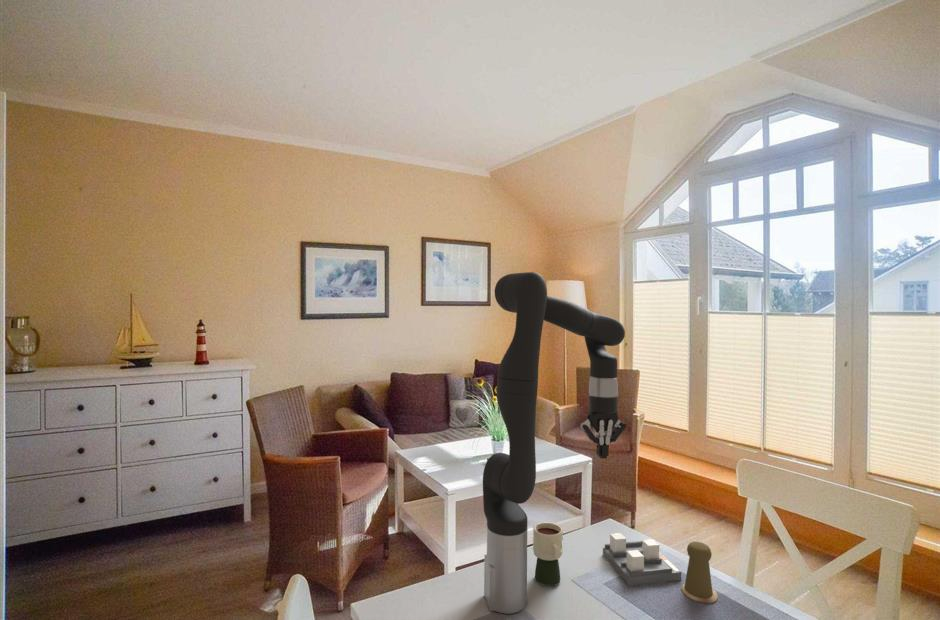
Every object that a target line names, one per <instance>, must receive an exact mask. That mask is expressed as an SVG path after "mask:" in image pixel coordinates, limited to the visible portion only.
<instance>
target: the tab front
mask: <svg viewBox="0 0 940 620" xmlns="http://www.w3.org/2000/svg"><path fill="white" fill-rule="evenodd" d="M626 567H627V568H628V569H629V570H630V571H639V570H644V556H643V555H642V554H641V553H640V552H639V551H638V550H631V551H627V562H626Z"/></svg>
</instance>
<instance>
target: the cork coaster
mask: <svg viewBox="0 0 940 620" xmlns="http://www.w3.org/2000/svg"><path fill="white" fill-rule="evenodd" d="M712 591H713V595H712V597H710V598H698V597H695V596H693V595H691V594H689V593H688V592H687V591H686V590H685V582H684V583H683V584H682V586H681V592H682V593H683V595H685V596H686V597H687V598H688V599H690V600H693V601H694V602H697V603H702V604H712V603H713V604H714V603H716V602H717V601H718V592H717V591H716V590H715V589H714V588H713V587H712Z"/></svg>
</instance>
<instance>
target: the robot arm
mask: <svg viewBox="0 0 940 620" xmlns="http://www.w3.org/2000/svg"><path fill="white" fill-rule="evenodd" d="M494 298H495V301H496V303H497V304H498V306H499V307H500V308H502V309H503V310H504V311H507V312H510V313H514V314H515V313H516V317H515V318H516V319H515V329H514V333H513V336H512V339H511V342H510V344H509V346H508V348H507V349H506V352H505V353H504V354H503V357H502V359H501V362H500V364H499V366H498V370H497V380H496V401H497V405H498V409H499V412H500V414H501V417H502V419H503V422H504V425H505V427H506V432H507V436H508V440H509V441H508V443H509V454H507V453H503V452H497V453H493V454H492V455H490V457H489V458H488V459H487V461H486V462H485V465H484V468H483V473H482V498H483V499H482V500H483V501H482V502H483V503H482V504H483V513H484V516H485V518H486V554H484V557H483V558H484V559H483V560H484V562H483V563H484V564H483V565H484V571H483V572H484V573H483V575H484V576H483V579H484V580H483V584H484V585H483V595H484V596H483V597H484V599H485V601H486V606H487V608H488V610H489V611H490V612H498V613H500V614H517V613H518V612H521V611H523V610H524V609H525V607H526V606H527V599H528V597H527V596H528V590H527V587H528V516H527V514H526V512H525V511H524V509H523V508H522V507H521V506H520V504H524V503H526V502H527V501H528V500H529V499H530V498H531V497H532V494H533V492H534V489H535V485H536V480H537V477H536V476H537V466H536V465H537V461H536V458H537V457H536V415H537V414H536V413H537V398H538V390H539V389H538V386H539V365H540V354H541V353H540V352H541V342H542V334H543V326H544V321H545V322H547V323H550V324H552V325H555V326H557V327H558V328H561V329H563V330H566V331H568V332H571V333H572V334H575V335H577V336H580V337H584V341H585V346H586V349H587V355H588V357H589V361H590V364H589V370H590V371H589V382H588V415H587V416H586V420H585V421H583V422H580V423H579V427H580V428H581V429H582V431H583V432H584V434H585V435H586V437H588V439H589V441H591V442H593V443H594V444H596V455H597V457H598V458H599V459H603V460H605V459H607V458H608V457H609V453H610V451H609V450H610V447H609V445H610V444H612V443H615V442H617V440H618V439H619V437H620V436H621V434H622V433H623V431H625V429H626V427H627V423H625V422H623V421H621V420H620V419H619V414H618V408H619V402H618V401H619V383H618V359H617V357H616V356H615V355H613V354H611V353H609V352H608V351H607V349H606V346H608V347H614V346H618V345H620V344H621V343H622V342H623V340H624V339H625V336H626V335H625V334H626V332H625V331H626V330H625V328H624V326H623V324H622V323H621V322H620V321H619V320H617V319H616V318H613V317H610V316H607V315H604V314H600V313H596V312H594V311H592V310H590V309H587V308H585V307H583V306H582V305H579V304H577V303H575V302H572V301H568V300H565V299H561V298H556V297H552V296H550V295H548V288H547V284H546V281H545V279H544V277H543V276H542V275H541V274H540V273H539V272H534V271H528V272H527V271H526V272H515V273H508V274H506V275H504V276H502V277H501V278H499V279H498V281H497V282H496V284H495V286H494ZM591 427H592V429H593V430H594V431H593V432H594V433H593V432H592V430H591Z"/></svg>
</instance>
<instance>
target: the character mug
mask: <svg viewBox="0 0 940 620" xmlns="http://www.w3.org/2000/svg"><path fill="white" fill-rule="evenodd" d="M563 533H564V532H563V528H562V526H560V525H559V524H557V523H554V522H549V521H548V522H547V521H545V522H538V523H536V524H534V526H533V535H532V536H533V538H532V539H533V541H532V543H533V545H532V552H533V555H534V556H535V557H536V564H535V570H534V571H535V572H534V580H535V581H536V582H537V583H538V584H540V585H545V586H557V585H558V584H560V583H561V568H560V563H559V559H560V558H561V556H562V555H563V553H564V552H563V540H564V535H563Z"/></svg>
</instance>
